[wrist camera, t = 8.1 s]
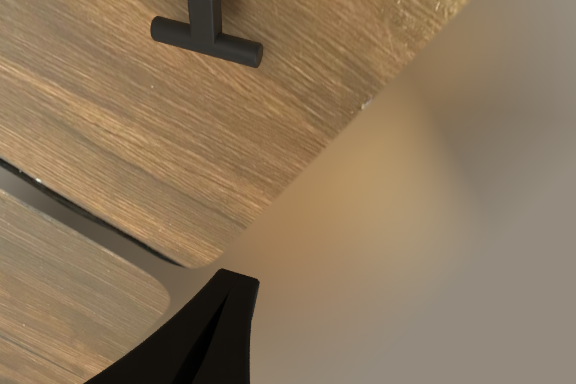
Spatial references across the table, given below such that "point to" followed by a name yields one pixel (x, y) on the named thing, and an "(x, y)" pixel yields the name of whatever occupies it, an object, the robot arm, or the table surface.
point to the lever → (206, 35)
